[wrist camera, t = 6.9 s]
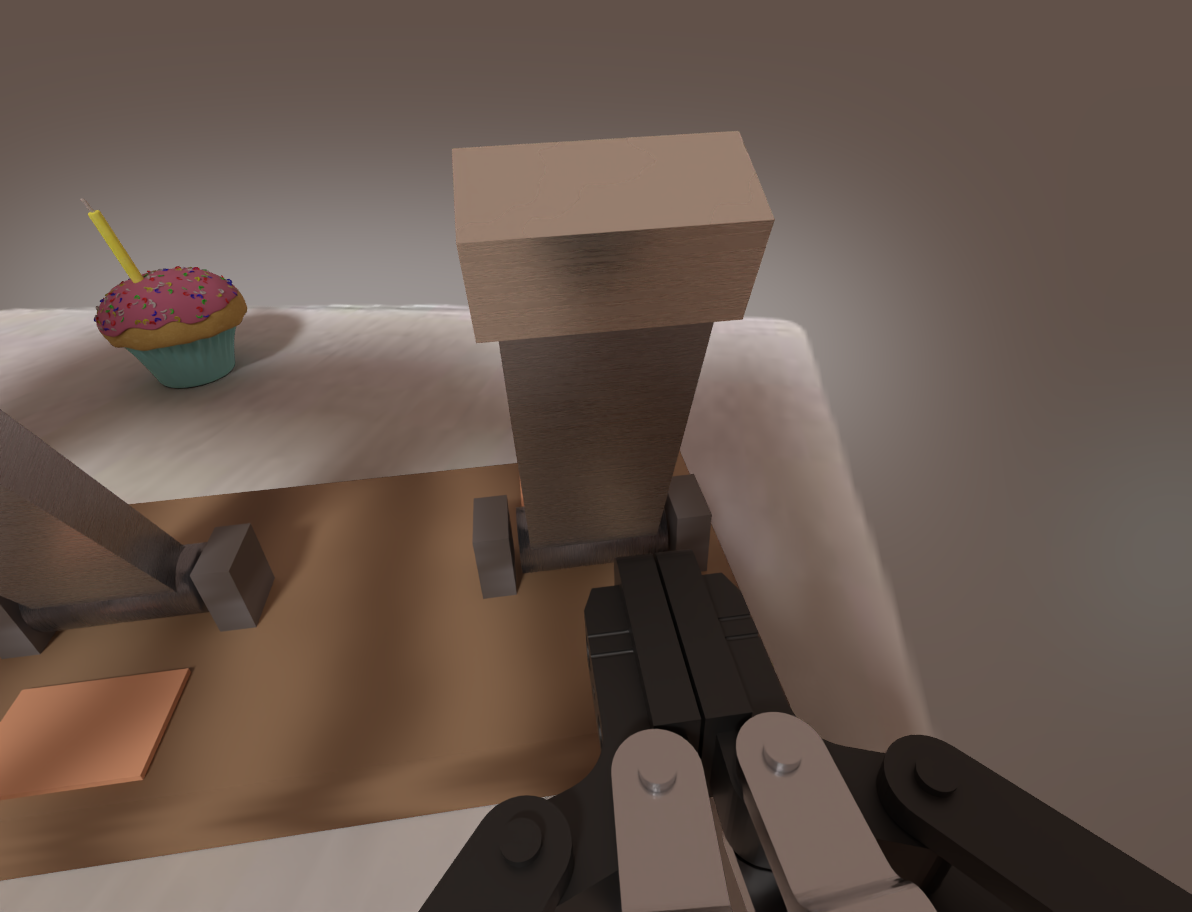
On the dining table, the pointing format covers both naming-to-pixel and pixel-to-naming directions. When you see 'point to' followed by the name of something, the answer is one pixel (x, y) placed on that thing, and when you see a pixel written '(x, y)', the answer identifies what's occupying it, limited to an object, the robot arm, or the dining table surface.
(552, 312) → the outer lever
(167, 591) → the inner lever
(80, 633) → the switch base
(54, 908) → the dining table surface
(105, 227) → the cupcake
